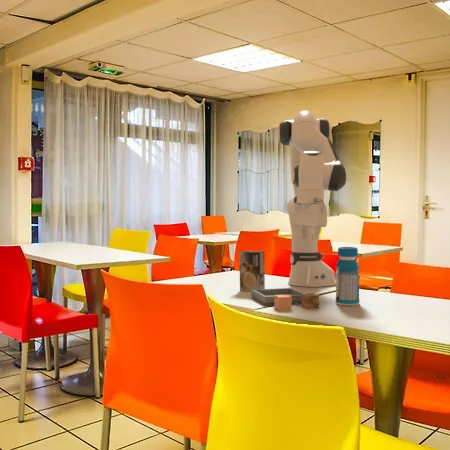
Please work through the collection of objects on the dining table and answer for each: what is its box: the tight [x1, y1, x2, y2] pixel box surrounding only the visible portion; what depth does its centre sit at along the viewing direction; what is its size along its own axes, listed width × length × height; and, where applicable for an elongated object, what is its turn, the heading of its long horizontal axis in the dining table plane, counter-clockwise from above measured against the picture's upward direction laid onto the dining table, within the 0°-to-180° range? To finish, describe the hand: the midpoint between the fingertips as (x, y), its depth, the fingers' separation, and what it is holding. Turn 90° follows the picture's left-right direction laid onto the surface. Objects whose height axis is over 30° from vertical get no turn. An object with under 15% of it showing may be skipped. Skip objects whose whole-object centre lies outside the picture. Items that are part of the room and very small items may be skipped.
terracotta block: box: [273, 295, 293, 311], centre depth 183 cm, size 4×4×4 cm
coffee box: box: [238, 250, 266, 293], centre depth 219 cm, size 9×6×16 cm
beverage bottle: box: [334, 246, 361, 307], centre depth 190 cm, size 8×8×20 cm
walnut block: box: [301, 292, 320, 310], centre depth 185 cm, size 4×4×4 cm
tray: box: [251, 287, 306, 306], centre depth 198 cm, size 16×16×3 cm
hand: (309, 239), depth 184 cm, fingers open, 8 cm apart
